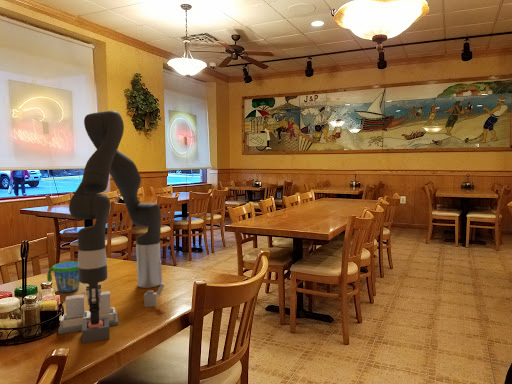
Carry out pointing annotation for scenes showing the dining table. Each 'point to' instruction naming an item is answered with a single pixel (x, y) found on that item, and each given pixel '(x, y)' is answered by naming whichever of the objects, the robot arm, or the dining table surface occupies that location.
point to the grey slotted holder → (104, 312)
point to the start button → (95, 324)
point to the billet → (75, 307)
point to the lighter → (152, 296)
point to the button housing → (95, 331)
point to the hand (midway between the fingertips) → (95, 323)
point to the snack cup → (65, 276)
